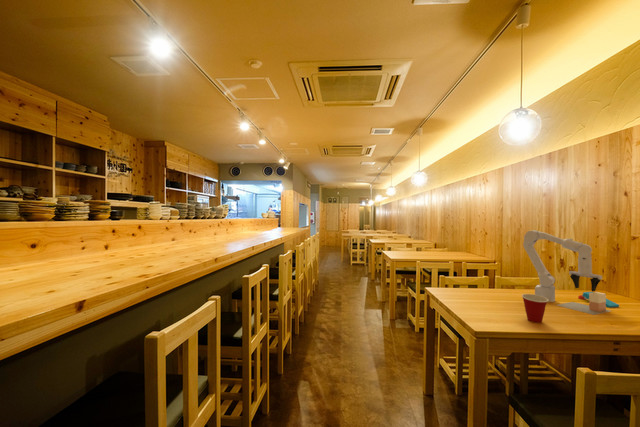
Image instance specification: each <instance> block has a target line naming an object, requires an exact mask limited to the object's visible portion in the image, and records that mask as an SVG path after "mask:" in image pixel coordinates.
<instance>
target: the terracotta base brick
mask: <svg viewBox="0 0 640 427" xmlns="http://www.w3.org/2000/svg"><path fill="white" fill-rule="evenodd" d="M588 302H589V303H588V304H589V310H594V311H598V312H600V311H604V310H607V307H606V302H603V303H595V302H590V301H589V300H588Z"/></svg>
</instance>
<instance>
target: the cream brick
mask: <svg viewBox="0 0 640 427" xmlns="http://www.w3.org/2000/svg"><path fill="white" fill-rule="evenodd" d="M592 292H593V293H589V300H588V302H589V301H590V302H595V303H603V302H606V299H607V294H606V293H604V292H598V291H592Z"/></svg>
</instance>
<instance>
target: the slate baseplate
mask: <svg viewBox="0 0 640 427" xmlns="http://www.w3.org/2000/svg"><path fill="white" fill-rule="evenodd" d="M556 306H558V307H561V308H566V309H570V310H573V311H577V312H581V313H586V314H589V315H593V316H595V315H600V314H606V313H609V312H611V310H610V309H606V310H604V311H600V312H598V311H594V310H589V305H588V304H584V303H583V304H582V303H579V302H574V301H570V302H563V303H559V304H556Z"/></svg>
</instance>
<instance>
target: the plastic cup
mask: <svg viewBox="0 0 640 427" xmlns="http://www.w3.org/2000/svg"><path fill="white" fill-rule="evenodd" d="M521 298H522V299H523V304H524V309H525V314H526V318H527V321H529V322H532V323H538V324H539V323H541V324H542V323H543V319H544V315H545V311H546V306H547V304H548V301H549V300H548V299H547V298H545V297H542V296H539V295H535V294H533V293H522V294H521Z"/></svg>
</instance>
